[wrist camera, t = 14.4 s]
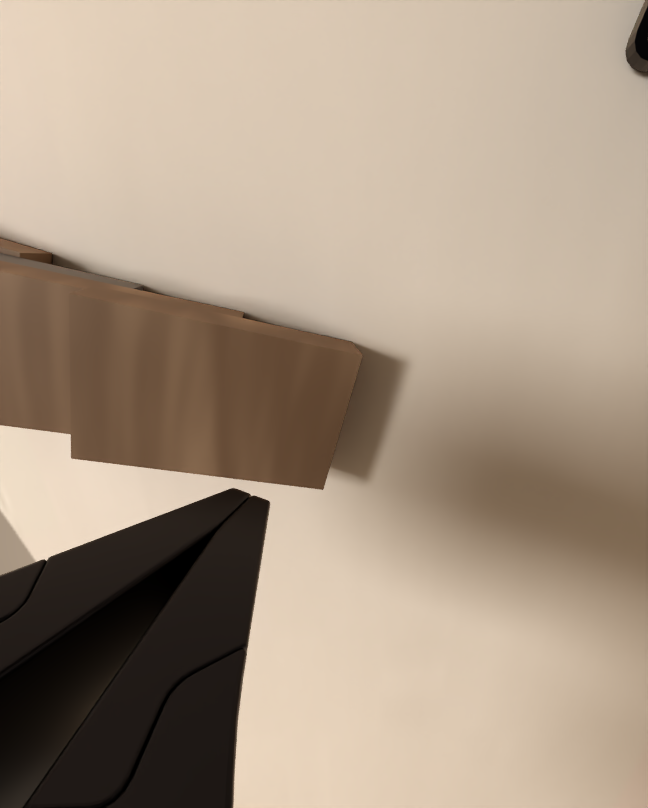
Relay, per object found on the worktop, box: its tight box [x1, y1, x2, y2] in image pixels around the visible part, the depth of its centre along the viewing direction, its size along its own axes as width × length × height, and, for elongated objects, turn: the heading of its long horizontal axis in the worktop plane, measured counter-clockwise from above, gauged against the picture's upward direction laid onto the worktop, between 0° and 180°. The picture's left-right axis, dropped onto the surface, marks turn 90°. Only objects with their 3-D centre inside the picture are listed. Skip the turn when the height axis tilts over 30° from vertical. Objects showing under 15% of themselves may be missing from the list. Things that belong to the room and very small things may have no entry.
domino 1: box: [0, 261, 244, 434], centre depth 13 cm, size 2×5×8 cm
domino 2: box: [69, 286, 363, 490], centre depth 12 cm, size 2×5×8 cm
